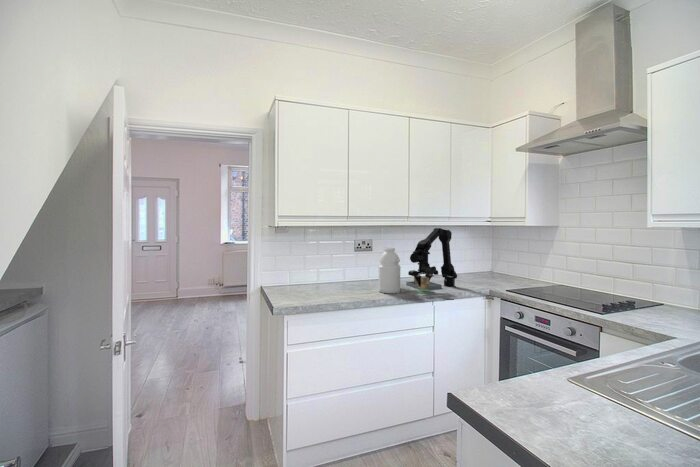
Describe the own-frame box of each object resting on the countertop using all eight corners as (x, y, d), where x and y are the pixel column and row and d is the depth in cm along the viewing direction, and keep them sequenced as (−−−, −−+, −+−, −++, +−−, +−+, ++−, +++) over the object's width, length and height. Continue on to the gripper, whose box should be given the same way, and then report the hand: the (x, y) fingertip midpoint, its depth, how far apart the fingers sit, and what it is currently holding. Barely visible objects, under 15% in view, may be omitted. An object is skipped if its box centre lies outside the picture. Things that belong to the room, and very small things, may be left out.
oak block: (424, 287, 215) (424, 276, 215) (428, 288, 210) (429, 277, 210) (417, 288, 213) (417, 276, 213) (422, 289, 208) (422, 277, 208)
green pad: (425, 290, 218) (425, 289, 218) (434, 293, 209) (434, 291, 209) (412, 291, 215) (412, 290, 215) (420, 294, 205) (420, 293, 205)
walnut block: (420, 284, 237) (420, 276, 237) (424, 285, 232) (424, 277, 232) (414, 285, 235) (414, 276, 235) (417, 286, 231) (418, 277, 230)
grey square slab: (426, 284, 240) (426, 280, 240) (441, 289, 223) (441, 284, 223) (406, 286, 234) (406, 281, 234) (420, 290, 217) (420, 286, 217)
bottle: (404, 291, 214) (405, 248, 213) (389, 294, 205) (389, 248, 205) (389, 288, 225) (389, 246, 224) (373, 291, 216) (374, 247, 216)
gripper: (417, 263, 200) (417, 289, 201) (443, 262, 207) (443, 287, 207) (408, 261, 211) (407, 286, 211) (433, 260, 217) (433, 284, 218)
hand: (423, 286), depth 212 cm, fingers closed on oak block, 5 cm apart
